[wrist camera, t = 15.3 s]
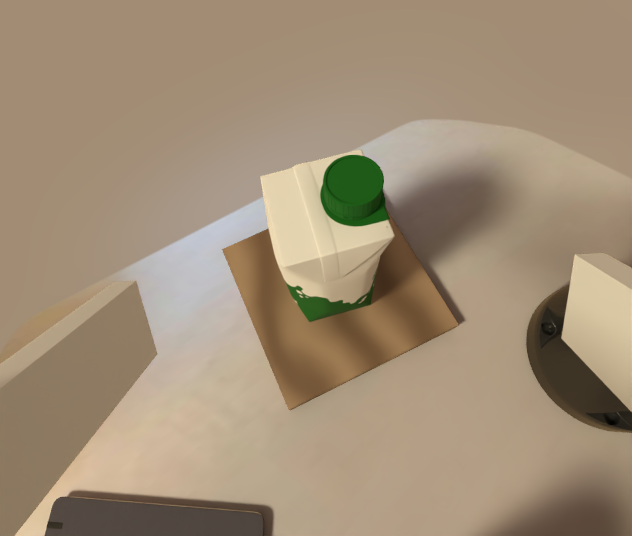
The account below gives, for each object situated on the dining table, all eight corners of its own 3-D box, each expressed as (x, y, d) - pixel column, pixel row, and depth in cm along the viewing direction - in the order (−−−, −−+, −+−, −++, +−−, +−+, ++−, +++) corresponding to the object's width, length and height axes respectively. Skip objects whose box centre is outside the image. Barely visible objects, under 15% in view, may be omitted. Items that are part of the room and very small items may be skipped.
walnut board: (369, 189, 50) (370, 183, 48) (454, 327, 42) (458, 324, 41) (225, 254, 48) (222, 249, 46) (290, 409, 41) (288, 409, 39)
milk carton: (381, 310, 42) (411, 227, 24) (302, 333, 42) (268, 267, 23) (357, 241, 45) (367, 119, 27) (283, 261, 45) (241, 153, 26)
